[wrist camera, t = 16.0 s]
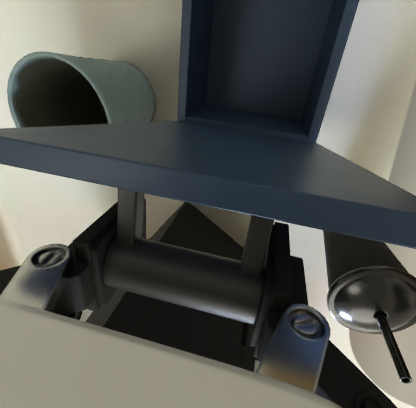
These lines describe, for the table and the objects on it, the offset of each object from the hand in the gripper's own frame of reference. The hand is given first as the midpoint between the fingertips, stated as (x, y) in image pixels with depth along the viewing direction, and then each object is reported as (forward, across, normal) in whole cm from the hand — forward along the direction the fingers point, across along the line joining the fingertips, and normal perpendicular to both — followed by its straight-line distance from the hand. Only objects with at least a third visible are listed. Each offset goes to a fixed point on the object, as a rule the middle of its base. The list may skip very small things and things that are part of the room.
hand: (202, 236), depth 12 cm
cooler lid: (+5, 0, -3) cm, 6 cm away
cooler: (+23, 0, -10) cm, 25 cm away
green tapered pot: (+23, +16, -1) cm, 28 cm away
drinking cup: (+23, -14, +10) cm, 29 cm away
